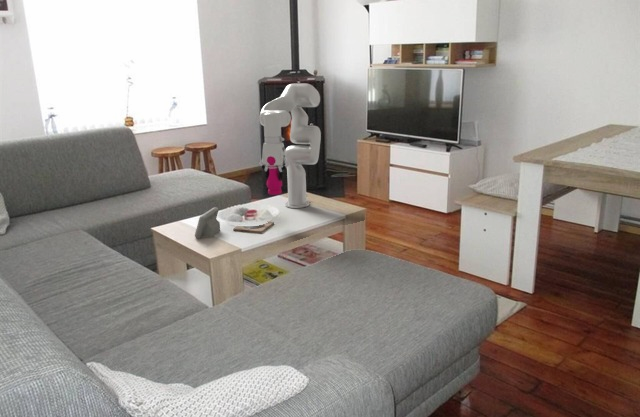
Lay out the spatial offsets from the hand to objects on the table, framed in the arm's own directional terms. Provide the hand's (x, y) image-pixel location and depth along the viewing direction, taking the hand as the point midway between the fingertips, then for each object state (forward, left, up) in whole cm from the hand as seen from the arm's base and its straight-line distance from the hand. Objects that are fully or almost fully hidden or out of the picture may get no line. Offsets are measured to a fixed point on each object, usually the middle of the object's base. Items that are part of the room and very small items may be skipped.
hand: (274, 179), depth 245 cm
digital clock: (+20, -25, -22) cm, 39 cm away
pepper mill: (0, 0, -7) cm, 7 cm away
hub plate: (+7, -8, -22) cm, 24 cm away
